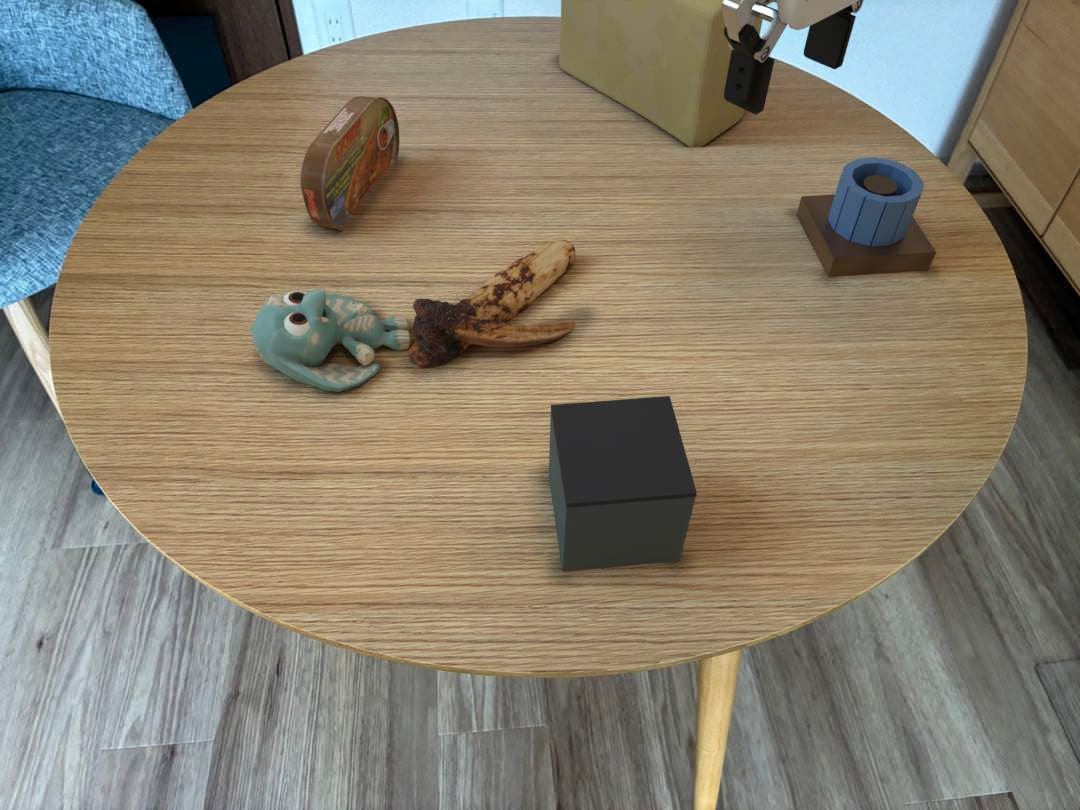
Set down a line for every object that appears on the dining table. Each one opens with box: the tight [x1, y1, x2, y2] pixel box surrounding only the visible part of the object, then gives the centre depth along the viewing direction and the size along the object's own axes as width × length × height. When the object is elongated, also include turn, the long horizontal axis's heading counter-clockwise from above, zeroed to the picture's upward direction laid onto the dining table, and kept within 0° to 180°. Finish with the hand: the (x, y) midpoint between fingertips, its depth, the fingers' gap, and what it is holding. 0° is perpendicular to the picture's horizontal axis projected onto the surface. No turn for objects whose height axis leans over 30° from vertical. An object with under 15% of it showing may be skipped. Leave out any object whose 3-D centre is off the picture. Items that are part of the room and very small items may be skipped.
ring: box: [828, 156, 925, 247], centre depth 74 cm, size 7×7×4 cm
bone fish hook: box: [408, 239, 577, 370], centre depth 69 cm, size 9×5×18 cm
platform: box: [796, 175, 937, 278], centre depth 75 cm, size 9×9×7 cm
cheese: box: [558, 0, 764, 149], centre depth 89 cm, size 22×10×15 cm, turn 48°
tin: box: [300, 95, 400, 232], centre depth 79 cm, size 15×3×8 cm, turn 162°
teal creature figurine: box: [250, 289, 413, 393], centre depth 66 cm, size 11×7×12 cm
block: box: [548, 395, 698, 572], centre depth 55 cm, size 8×8×8 cm
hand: (783, 83), depth 64 cm, fingers open, 9 cm apart
